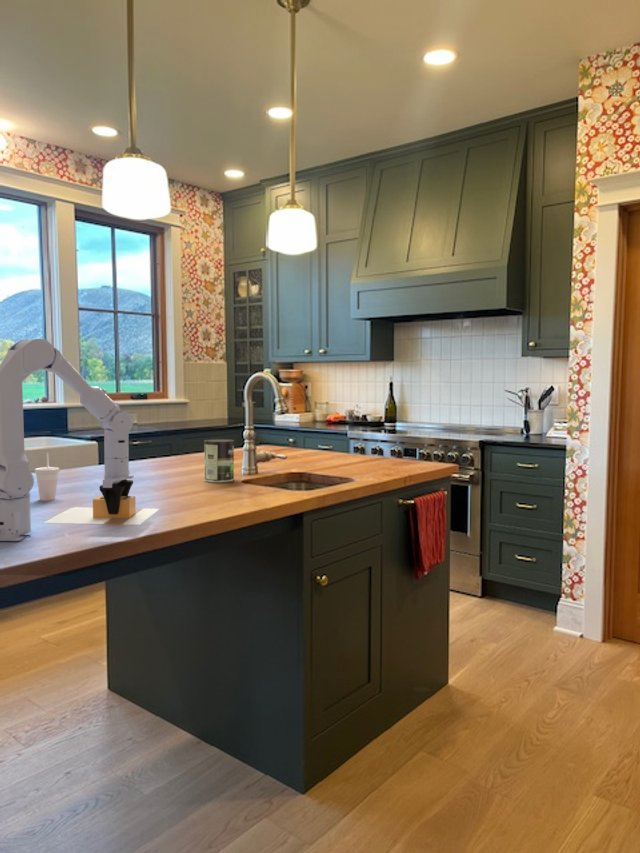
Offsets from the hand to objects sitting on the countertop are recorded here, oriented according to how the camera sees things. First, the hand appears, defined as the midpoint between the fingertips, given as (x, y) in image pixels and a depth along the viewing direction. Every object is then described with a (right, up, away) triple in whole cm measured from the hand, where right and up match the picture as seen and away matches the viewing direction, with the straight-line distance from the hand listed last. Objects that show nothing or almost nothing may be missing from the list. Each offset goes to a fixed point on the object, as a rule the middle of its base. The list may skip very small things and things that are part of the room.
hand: (117, 511), depth 157 cm
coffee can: (+16, +2, +62) cm, 64 cm away
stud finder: (-1, -1, 0) cm, 1 cm away
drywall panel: (-3, -2, 0) cm, 4 cm away
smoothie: (-26, 0, +19) cm, 32 cm away
